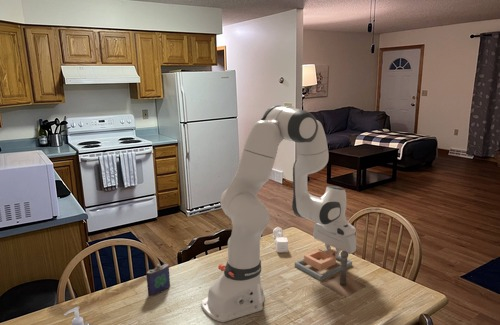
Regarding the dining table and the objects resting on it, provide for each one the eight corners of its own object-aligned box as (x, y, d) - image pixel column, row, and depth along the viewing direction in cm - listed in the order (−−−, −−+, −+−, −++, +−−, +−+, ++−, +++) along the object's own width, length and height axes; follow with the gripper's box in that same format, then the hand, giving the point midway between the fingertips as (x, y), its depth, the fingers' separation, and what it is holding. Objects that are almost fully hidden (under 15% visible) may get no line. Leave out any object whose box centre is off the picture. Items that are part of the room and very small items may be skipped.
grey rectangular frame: (320, 283, 139) (320, 276, 138) (294, 268, 150) (294, 262, 149) (351, 267, 150) (352, 261, 149) (325, 255, 161) (325, 249, 160)
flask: (167, 284, 139) (166, 258, 137) (172, 287, 137) (170, 261, 135) (146, 294, 132) (144, 267, 130) (151, 297, 130) (148, 270, 128)
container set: (288, 253, 164) (288, 241, 163) (276, 253, 164) (276, 242, 162) (282, 234, 183) (282, 224, 182) (272, 234, 183) (272, 224, 182)
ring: (320, 271, 142) (320, 263, 141) (304, 262, 149) (304, 255, 148) (343, 260, 150) (344, 253, 149) (327, 252, 157) (327, 245, 156)
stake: (345, 300, 128) (347, 262, 125) (319, 285, 137) (320, 249, 134) (366, 288, 135) (368, 252, 132) (340, 275, 144) (342, 241, 141)
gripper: (310, 218, 155) (309, 248, 158) (349, 234, 139) (347, 267, 143) (320, 215, 159) (319, 244, 162) (359, 230, 143) (357, 262, 146)
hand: (332, 255), depth 152 cm, fingers closed on ring, 2 cm apart
